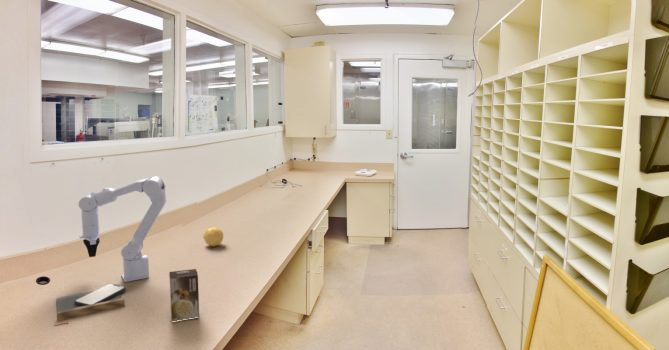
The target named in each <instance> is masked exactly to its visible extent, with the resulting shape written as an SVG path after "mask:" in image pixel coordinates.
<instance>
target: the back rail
mask: <svg viewBox="0 0 669 350" xmlns="http://www.w3.org/2000/svg"><path fill="white" fill-rule="evenodd" d="M125 300H126V299H125V297H122V298H120V299H115V300H110V301H106V302H101V303H96V304H91V305H87V306H82V307H77V308H73V309H68V310H63V311H59V312H57V321H58V322H59V321H62V320H67V319H72V318H77V317H81V316H85V315H90V314H94V313H98V312H103V311H107V310H111V309H116V308H121V307H124V306H126V304H125V303H126V302H125Z"/></svg>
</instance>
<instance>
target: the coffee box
mask: <svg viewBox="0 0 669 350" xmlns="http://www.w3.org/2000/svg"><path fill="white" fill-rule="evenodd" d="M168 276H169V297H170V300H169V301H170V316H171V319H170V320H172V321H177V320H183V319H189V318H195V317H199V318H200V301H199V300H200V297H199V295H200V294H199V275H198V271H197V269H196V268H191V269H183V270H175V271H169V274H168ZM172 321H171V322H172Z"/></svg>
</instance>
